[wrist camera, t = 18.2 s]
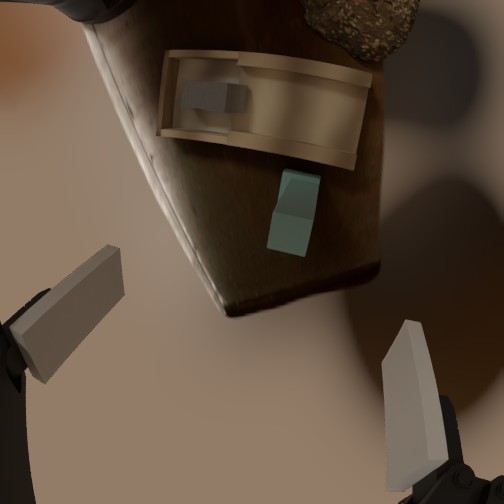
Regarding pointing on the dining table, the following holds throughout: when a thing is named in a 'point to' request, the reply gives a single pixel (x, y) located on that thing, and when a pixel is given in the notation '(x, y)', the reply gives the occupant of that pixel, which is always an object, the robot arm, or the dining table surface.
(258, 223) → the dining table surface
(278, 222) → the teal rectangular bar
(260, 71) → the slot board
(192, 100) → the chip
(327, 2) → the bread roll
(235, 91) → the chip
